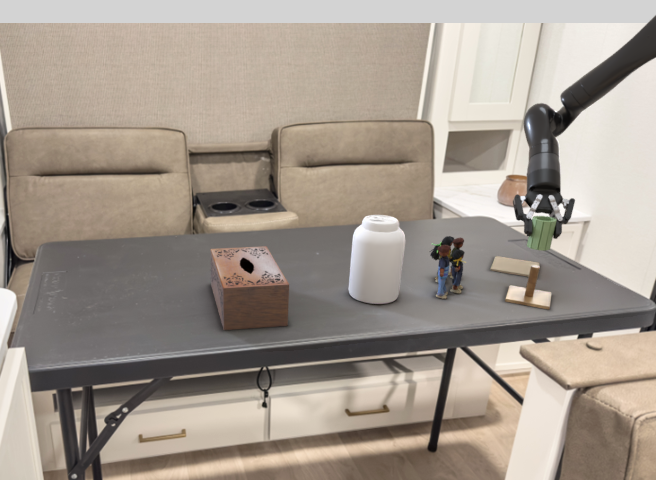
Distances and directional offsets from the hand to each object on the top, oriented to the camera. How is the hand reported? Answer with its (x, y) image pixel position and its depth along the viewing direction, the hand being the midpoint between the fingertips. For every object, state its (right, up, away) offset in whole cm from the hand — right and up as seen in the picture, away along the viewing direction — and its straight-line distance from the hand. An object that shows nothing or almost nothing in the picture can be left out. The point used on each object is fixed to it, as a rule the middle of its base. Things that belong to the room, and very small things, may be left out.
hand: (542, 235), depth 139 cm
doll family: (-19, -12, +14) cm, 26 cm away
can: (-39, -14, +8) cm, 42 cm away
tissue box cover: (-71, -16, +2) cm, 73 cm away
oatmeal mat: (+5, -6, +27) cm, 28 cm away
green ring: (0, -2, +3) cm, 4 cm away
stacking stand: (0, -15, +7) cm, 17 cm away
